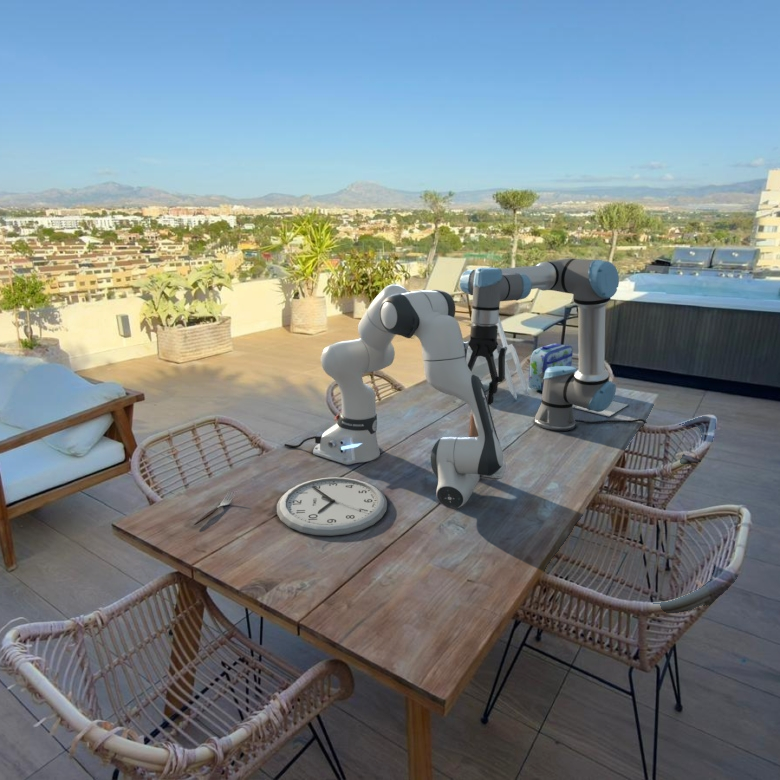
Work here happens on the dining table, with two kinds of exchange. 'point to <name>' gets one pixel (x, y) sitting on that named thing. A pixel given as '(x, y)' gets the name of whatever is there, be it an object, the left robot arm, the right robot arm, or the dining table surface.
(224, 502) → the fork
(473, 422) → the bottle
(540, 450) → the dining table surface
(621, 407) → the invitation card
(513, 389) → the white plastic object
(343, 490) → the wall clock
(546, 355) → the lunch box
